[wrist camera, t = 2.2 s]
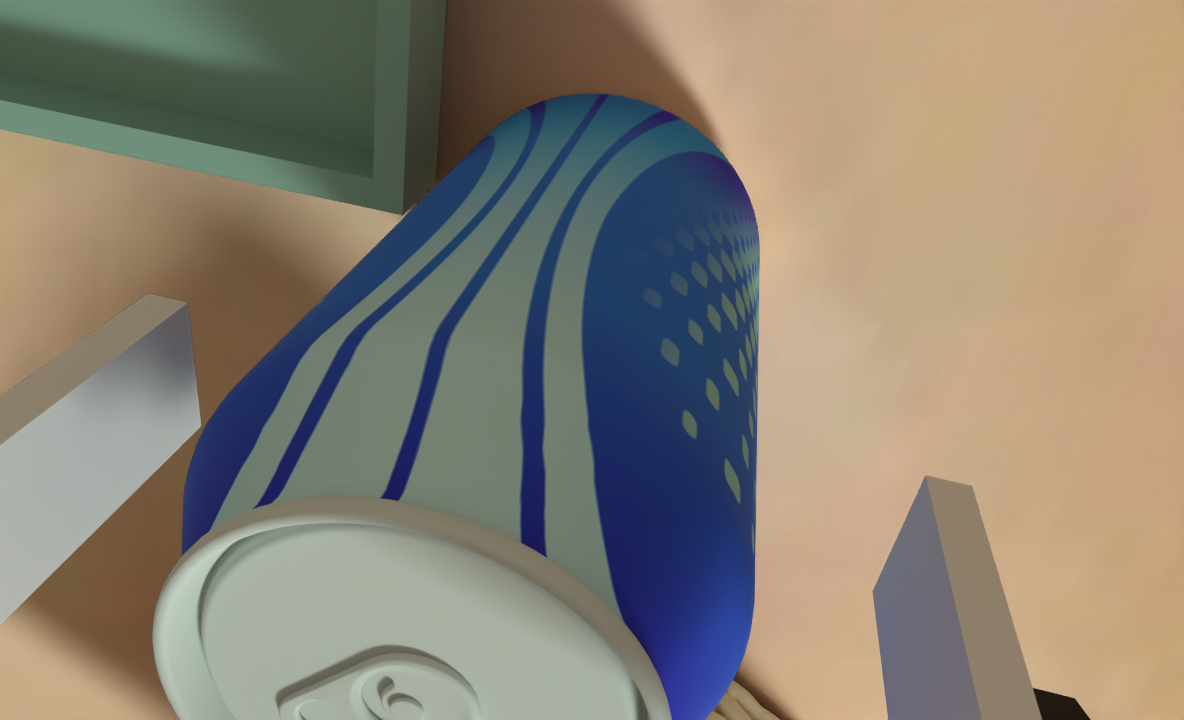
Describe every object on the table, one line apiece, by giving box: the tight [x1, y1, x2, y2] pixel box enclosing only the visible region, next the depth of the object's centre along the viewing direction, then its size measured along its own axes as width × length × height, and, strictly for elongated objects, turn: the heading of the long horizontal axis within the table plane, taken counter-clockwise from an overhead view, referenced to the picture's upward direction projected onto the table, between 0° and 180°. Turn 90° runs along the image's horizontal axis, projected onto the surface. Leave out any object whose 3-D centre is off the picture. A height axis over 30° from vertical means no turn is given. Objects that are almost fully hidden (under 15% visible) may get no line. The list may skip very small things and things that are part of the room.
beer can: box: [152, 93, 760, 720], centre depth 17 cm, size 8×8×16 cm
